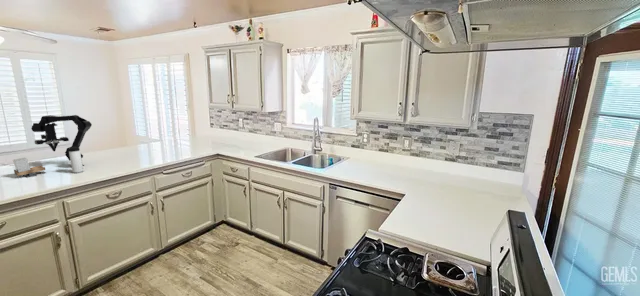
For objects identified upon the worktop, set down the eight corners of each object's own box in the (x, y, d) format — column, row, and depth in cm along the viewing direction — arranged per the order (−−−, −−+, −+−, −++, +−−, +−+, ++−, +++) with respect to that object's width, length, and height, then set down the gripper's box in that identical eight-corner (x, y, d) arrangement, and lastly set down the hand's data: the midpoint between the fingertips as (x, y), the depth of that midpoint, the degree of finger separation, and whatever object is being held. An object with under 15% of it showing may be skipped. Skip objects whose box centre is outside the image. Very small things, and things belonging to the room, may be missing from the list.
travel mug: (86, 171, 213) (81, 145, 209) (78, 173, 207) (73, 147, 203) (78, 170, 214) (74, 145, 210) (70, 173, 207) (65, 147, 203)
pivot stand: (42, 171, 212) (41, 168, 211) (47, 173, 206) (46, 170, 205) (16, 175, 200) (15, 172, 200) (20, 178, 194) (19, 175, 194)
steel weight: (28, 169, 203) (24, 157, 201) (30, 170, 200) (27, 158, 198) (16, 171, 198) (12, 159, 196) (18, 173, 195) (14, 161, 193)
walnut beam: (42, 168, 210) (41, 164, 209) (45, 170, 206) (44, 165, 205) (15, 174, 199) (13, 169, 198) (18, 176, 194) (16, 171, 193)
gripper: (62, 129, 228) (65, 148, 232) (30, 132, 213) (34, 152, 216) (67, 130, 222) (70, 149, 226) (34, 133, 207) (39, 154, 210)
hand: (54, 151), depth 220 cm, fingers closed
